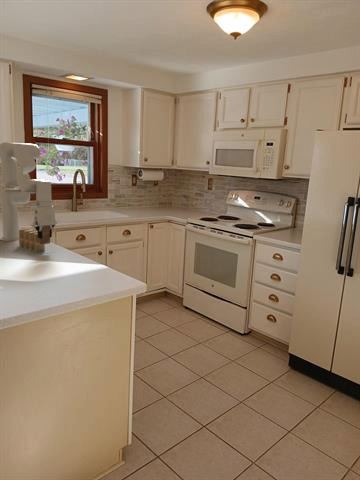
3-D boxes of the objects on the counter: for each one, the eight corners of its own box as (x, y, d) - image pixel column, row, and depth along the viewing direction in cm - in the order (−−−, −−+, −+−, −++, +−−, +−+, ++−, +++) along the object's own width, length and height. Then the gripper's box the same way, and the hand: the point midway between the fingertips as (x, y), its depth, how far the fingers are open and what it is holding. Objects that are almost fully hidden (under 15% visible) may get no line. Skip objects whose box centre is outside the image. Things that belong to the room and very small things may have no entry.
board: (15, 247, 209) (15, 246, 209) (29, 245, 216) (29, 244, 216) (40, 255, 196) (40, 254, 195) (53, 253, 202) (53, 252, 202)
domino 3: (29, 249, 204) (28, 232, 202) (37, 248, 208) (37, 231, 206) (31, 250, 203) (30, 232, 201) (39, 249, 207) (39, 231, 205)
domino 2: (24, 248, 207) (23, 230, 205) (32, 247, 211) (31, 229, 209) (26, 248, 206) (25, 231, 204) (34, 247, 210) (33, 230, 208)
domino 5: (50, 243, 200) (49, 225, 198) (42, 244, 196) (41, 226, 194) (48, 242, 201) (47, 224, 199) (39, 243, 197) (39, 225, 195)
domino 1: (19, 246, 210) (18, 229, 208) (27, 245, 214) (27, 228, 212) (21, 247, 209) (20, 230, 207) (29, 246, 213) (28, 229, 211)
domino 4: (34, 251, 201) (34, 233, 199) (42, 250, 205) (42, 232, 203) (36, 252, 200) (36, 234, 198) (44, 250, 204) (44, 233, 202)
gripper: (33, 205, 185) (34, 240, 189) (62, 203, 199) (62, 236, 203) (25, 204, 190) (26, 238, 193) (53, 202, 203) (54, 234, 207)
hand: (44, 237), depth 198 cm, fingers closed on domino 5, 4 cm apart
